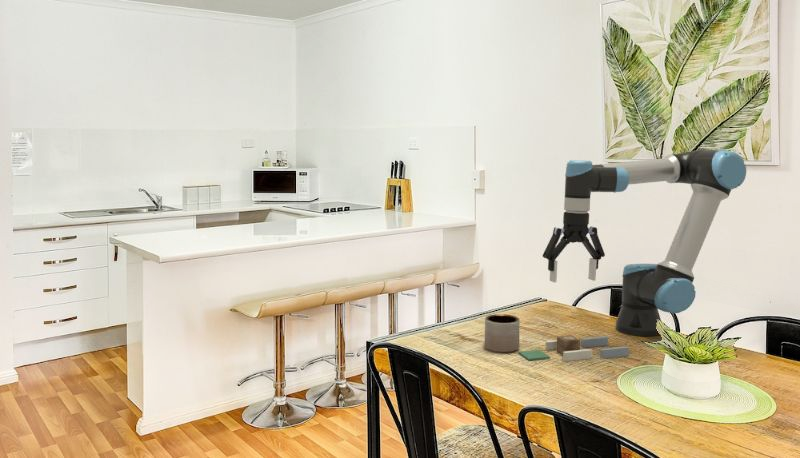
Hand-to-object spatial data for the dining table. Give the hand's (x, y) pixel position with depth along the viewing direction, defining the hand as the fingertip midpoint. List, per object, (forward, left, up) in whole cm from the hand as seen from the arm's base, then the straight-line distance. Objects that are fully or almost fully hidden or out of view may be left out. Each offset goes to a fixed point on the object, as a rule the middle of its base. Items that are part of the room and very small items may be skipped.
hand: (572, 280), depth 201 cm
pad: (+13, +2, -22) cm, 26 cm away
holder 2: (-10, +4, -22) cm, 24 cm away
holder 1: (+2, +3, -22) cm, 22 cm away
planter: (+19, -8, -22) cm, 31 cm away
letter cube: (+2, +3, -22) cm, 23 cm away
